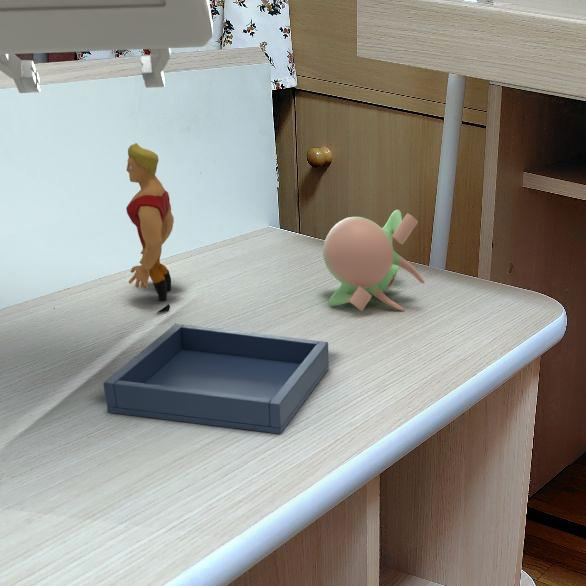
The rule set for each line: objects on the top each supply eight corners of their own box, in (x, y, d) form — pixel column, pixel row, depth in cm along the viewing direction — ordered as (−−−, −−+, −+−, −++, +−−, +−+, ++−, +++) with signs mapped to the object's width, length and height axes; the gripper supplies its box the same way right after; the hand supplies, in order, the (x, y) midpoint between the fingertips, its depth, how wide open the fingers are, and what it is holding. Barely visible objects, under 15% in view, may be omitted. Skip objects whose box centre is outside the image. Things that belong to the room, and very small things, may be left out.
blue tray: (107, 412, 76) (102, 382, 75) (178, 350, 88) (175, 323, 86) (280, 434, 76) (279, 404, 74) (328, 368, 87) (328, 341, 86)
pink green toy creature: (453, 251, 101) (422, 237, 108) (379, 186, 95) (352, 176, 102) (383, 346, 101) (357, 326, 109) (305, 287, 95) (283, 270, 103)
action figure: (146, 289, 100) (127, 132, 92) (183, 290, 101) (167, 134, 93) (130, 322, 92) (108, 153, 84) (170, 323, 93) (152, 156, 85)
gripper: (193, -111, 69) (223, 49, 82) (-129, -110, 65) (-44, 58, 78) (201, -45, 67) (231, 108, 80) (-130, -39, 63) (-43, 121, 76)
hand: (93, 84), depth 79 cm, fingers open, 8 cm apart
